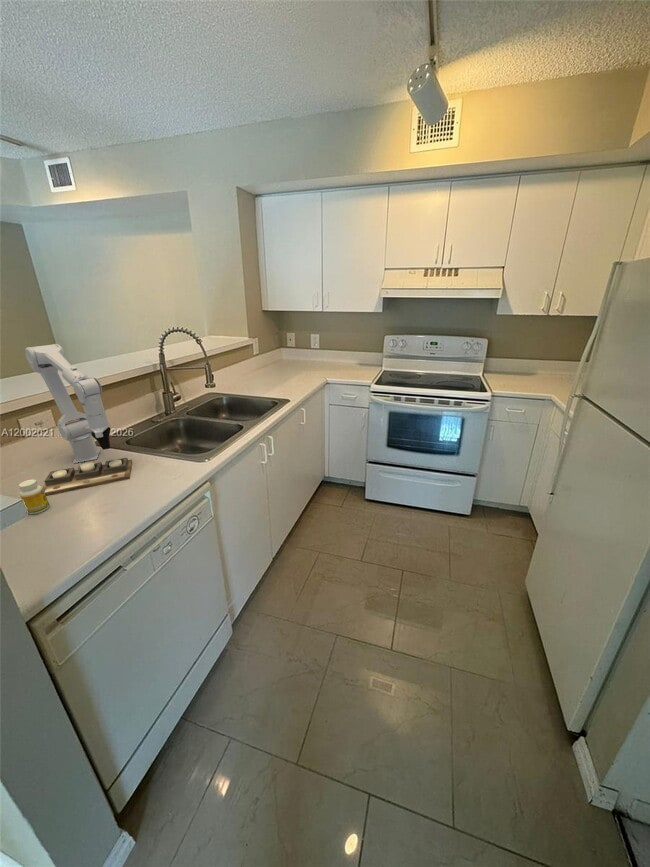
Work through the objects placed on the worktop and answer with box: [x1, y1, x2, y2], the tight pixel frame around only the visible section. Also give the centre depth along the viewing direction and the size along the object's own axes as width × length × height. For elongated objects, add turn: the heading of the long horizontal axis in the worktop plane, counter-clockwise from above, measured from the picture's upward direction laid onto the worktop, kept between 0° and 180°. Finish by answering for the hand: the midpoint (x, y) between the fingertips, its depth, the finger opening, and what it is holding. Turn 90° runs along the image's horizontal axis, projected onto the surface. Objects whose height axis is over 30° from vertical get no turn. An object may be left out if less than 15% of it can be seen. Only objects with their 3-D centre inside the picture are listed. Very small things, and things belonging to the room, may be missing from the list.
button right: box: [109, 459, 122, 467], centre depth 122 cm, size 4×4×2 cm
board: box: [42, 457, 133, 497], centre depth 118 cm, size 14×26×3 cm, turn 114°
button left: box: [52, 469, 67, 478], centre depth 116 cm, size 4×4×2 cm
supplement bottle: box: [18, 479, 50, 515], centre depth 100 cm, size 5×5×10 cm
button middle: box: [80, 461, 95, 473], centre depth 118 cm, size 4×4×2 cm
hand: (106, 448), depth 121 cm, fingers closed
